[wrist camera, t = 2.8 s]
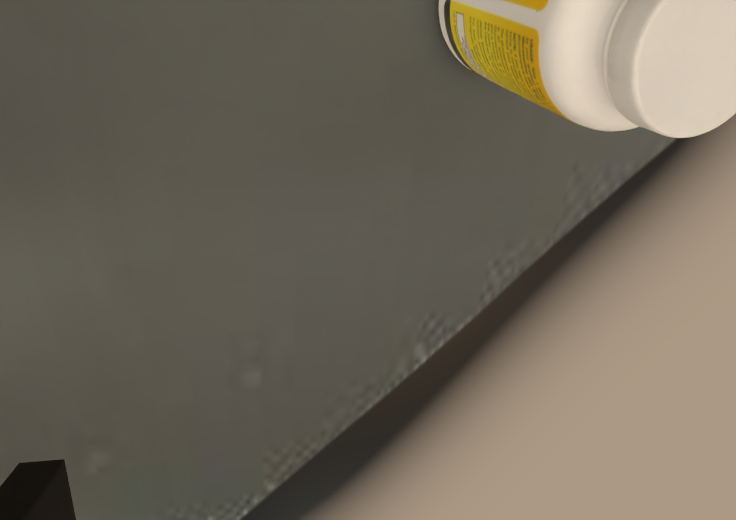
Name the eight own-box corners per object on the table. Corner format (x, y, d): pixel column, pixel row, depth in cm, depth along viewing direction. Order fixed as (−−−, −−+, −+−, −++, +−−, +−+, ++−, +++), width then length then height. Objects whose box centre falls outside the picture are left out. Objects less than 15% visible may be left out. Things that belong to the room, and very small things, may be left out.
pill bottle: (549, 79, 29) (749, 169, 20) (420, 69, 27) (579, 164, 18) (590, -78, 26) (845, -57, 17) (450, -104, 24) (656, -96, 15)
